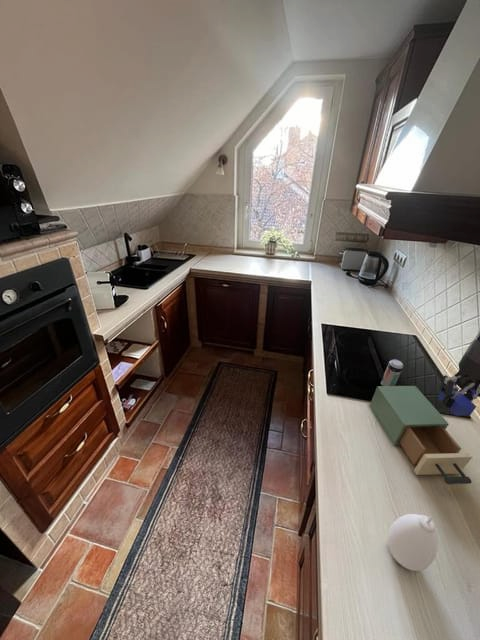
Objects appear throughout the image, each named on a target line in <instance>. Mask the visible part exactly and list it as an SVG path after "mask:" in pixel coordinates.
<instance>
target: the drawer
mask: <svg viewBox="0 0 480 640" xmlns="http://www.w3.org/2000/svg"><path fill="white" fill-rule="evenodd" d="M399 443H400V444H401V445H400V446H401V448H402V449H403V451H404V452H405V454H406V455H407V457H408V459H409V460H410V462H411V463H412V465H413V466H415V468H414V469H413V472H414V474H415V475H416V476H427V475H428V476H429V475H430V476H431V475H441V476H442V477H443V481H444V483H445V484H446V485H467V484H472V479H471V478H470V477H469V476H466V474H465V473H464V472H463V470H464V468H465V467H466V466H467V465H468V464H469V462H470V461H471V460H472V459H473V456H472V455H471V454H470V452H460V451H461V450H462V447H461V446H460V445H459V444H458V443H457V442H456V440H455V439H454V438H453V437H452V435H451V434H449V432H448V431H447V430H446V429H444V428H443V426H413V427H406V428H405V430H404V432H403V434H402V435H401V437H400V439H399ZM447 475H460V476H447Z"/></svg>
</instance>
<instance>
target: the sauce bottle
mask: <svg viewBox="0 0 480 640" xmlns="http://www.w3.org/2000/svg"><path fill="white" fill-rule="evenodd" d="M433 518H434V515H431V516H427V515H424V514H418V513H417V514H416V513H409V514H403V515H401V516H400V517H398V518H397V519H395V520H394V521H393V523H392V524H391V526H390V528H389V530H388V534H387V545H388V549H389V552H390V554H391V556H392V557H393V558H394V560H395V561H396V562H397V563H398V564H399V565H400V566H402V567H404V568H405V569H407V570H409V571H414V572H420V571H424V570H426V569H427V568H429V567H430V566H431V565H432V563H433V562H434V561H435V559H436V556H437V553H438V547H439V540H438V534H437V530H436V525H435V523H434V521H433Z"/></svg>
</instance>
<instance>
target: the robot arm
mask: <svg viewBox="0 0 480 640" xmlns="http://www.w3.org/2000/svg"><path fill="white" fill-rule="evenodd" d="M453 390H455V391H456V392H455V393H454V394H453V393H452V391H453ZM439 391H440V393H441V392H442V393H443V394H444V395H445V397H444V398H443V400H442V401H441V404H442V405H443V406H444V407H445V408H446V409H448V408H450V407H451V406H452V404H453V402H454V401H455V400H456V398H457V397H458V396H459V395H460V394H463V395H465V396H466V397H467V398H468V399H469V400H470V401H471V402H472V403H473V401H474V400H477V399H478V398H480V330H478V332H477V333H476V335H475V337H474V339H473V340H472V341H471V342H470V344H469V345H468V347H467V349H466V350H465V351H464V354H463V355H462V357H461V359H460V360H459V362H458V371H457V372H456V373H455V374H454V375H453V376H448V375H446V374H444V375H443V376H442V378H441V383H440V390H439Z"/></svg>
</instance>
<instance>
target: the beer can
mask: <svg viewBox="0 0 480 640" xmlns="http://www.w3.org/2000/svg"><path fill="white" fill-rule="evenodd" d="M403 368H404V364H403V362H402V361H401V360H399V359H396V358H393V359H391V360H390V361H389V362H388V364H387V367H386V369H385V371H384V374H383V377H382V379H381V381H380V384H381V386H396V384H397V382H398V380H399V378H400V375H401V373H402V370H403Z"/></svg>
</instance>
